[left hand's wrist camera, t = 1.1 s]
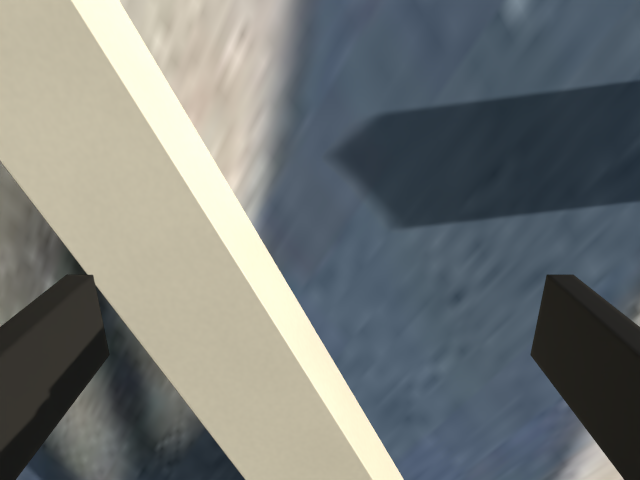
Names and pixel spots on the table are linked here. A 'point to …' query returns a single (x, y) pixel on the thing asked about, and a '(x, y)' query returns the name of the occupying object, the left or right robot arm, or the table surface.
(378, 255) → the table surface
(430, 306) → the table surface
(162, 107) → the thick board
